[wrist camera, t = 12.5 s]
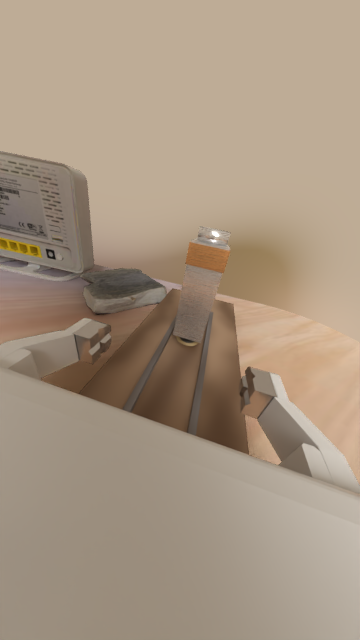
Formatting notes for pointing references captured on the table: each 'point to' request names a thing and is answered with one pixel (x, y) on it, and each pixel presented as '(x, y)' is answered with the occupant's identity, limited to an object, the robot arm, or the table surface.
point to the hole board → (179, 376)
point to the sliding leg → (201, 282)
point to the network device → (44, 217)
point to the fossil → (120, 290)
